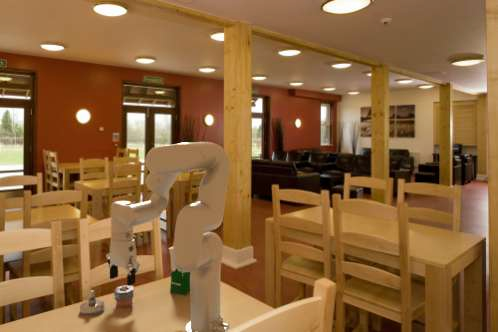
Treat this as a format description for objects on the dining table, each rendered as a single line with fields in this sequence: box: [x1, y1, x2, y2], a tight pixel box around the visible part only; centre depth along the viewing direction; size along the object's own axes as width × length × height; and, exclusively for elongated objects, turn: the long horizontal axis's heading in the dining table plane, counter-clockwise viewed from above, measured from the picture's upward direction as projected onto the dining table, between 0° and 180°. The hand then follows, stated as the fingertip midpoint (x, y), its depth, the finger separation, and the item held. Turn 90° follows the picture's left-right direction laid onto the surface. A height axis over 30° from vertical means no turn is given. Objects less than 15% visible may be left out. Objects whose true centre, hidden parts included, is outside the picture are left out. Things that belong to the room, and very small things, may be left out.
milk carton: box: [167, 245, 191, 296], centre depth 148 cm, size 9×9×20 cm
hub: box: [79, 289, 105, 317], centre depth 132 cm, size 8×8×7 cm
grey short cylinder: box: [113, 284, 135, 301], centre depth 136 cm, size 6×6×3 cm
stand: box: [115, 285, 133, 309], centre depth 136 cm, size 6×6×7 cm
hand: (122, 281), depth 136 cm, fingers open, 9 cm apart
